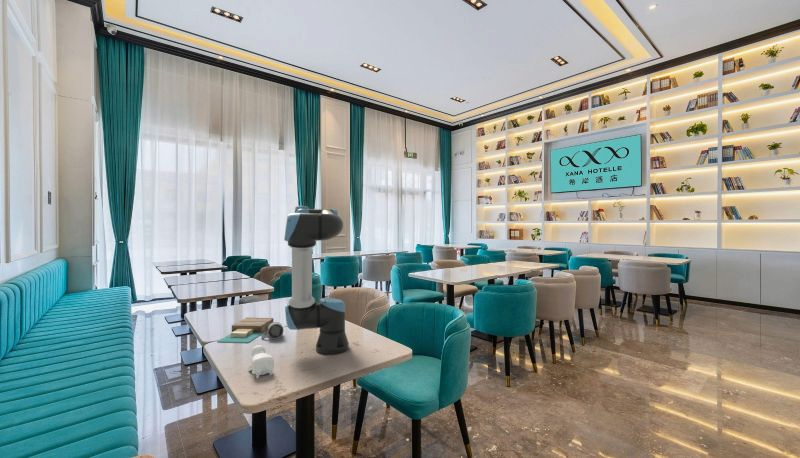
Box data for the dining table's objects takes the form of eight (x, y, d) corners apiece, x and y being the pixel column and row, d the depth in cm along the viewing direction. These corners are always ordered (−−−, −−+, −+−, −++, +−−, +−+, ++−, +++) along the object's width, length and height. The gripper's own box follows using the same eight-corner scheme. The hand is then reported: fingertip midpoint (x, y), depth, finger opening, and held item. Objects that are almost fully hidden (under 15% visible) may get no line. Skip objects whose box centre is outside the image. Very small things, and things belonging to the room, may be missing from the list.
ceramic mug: (282, 333, 186) (282, 319, 186) (283, 338, 178) (283, 323, 178) (261, 336, 182) (260, 321, 182) (261, 341, 174) (261, 325, 174)
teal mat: (248, 343, 171) (248, 342, 171) (217, 342, 172) (217, 341, 172) (262, 333, 186) (262, 332, 186) (233, 333, 187) (233, 332, 187)
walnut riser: (260, 333, 186) (260, 326, 186) (231, 332, 187) (231, 325, 187) (273, 324, 202) (273, 318, 202) (246, 324, 203) (246, 317, 203)
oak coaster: (245, 337, 178) (245, 333, 178) (230, 337, 179) (230, 333, 179) (253, 332, 186) (253, 328, 186) (238, 332, 187) (238, 328, 187)
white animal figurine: (275, 380, 136) (266, 355, 148) (277, 363, 134) (268, 339, 145) (252, 386, 132) (245, 359, 143) (253, 368, 129) (246, 343, 141)
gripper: (299, 233, 201) (299, 274, 201) (291, 234, 188) (291, 277, 188) (312, 233, 200) (312, 274, 201) (304, 234, 187) (304, 278, 188)
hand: (302, 276), depth 194 cm, fingers closed
